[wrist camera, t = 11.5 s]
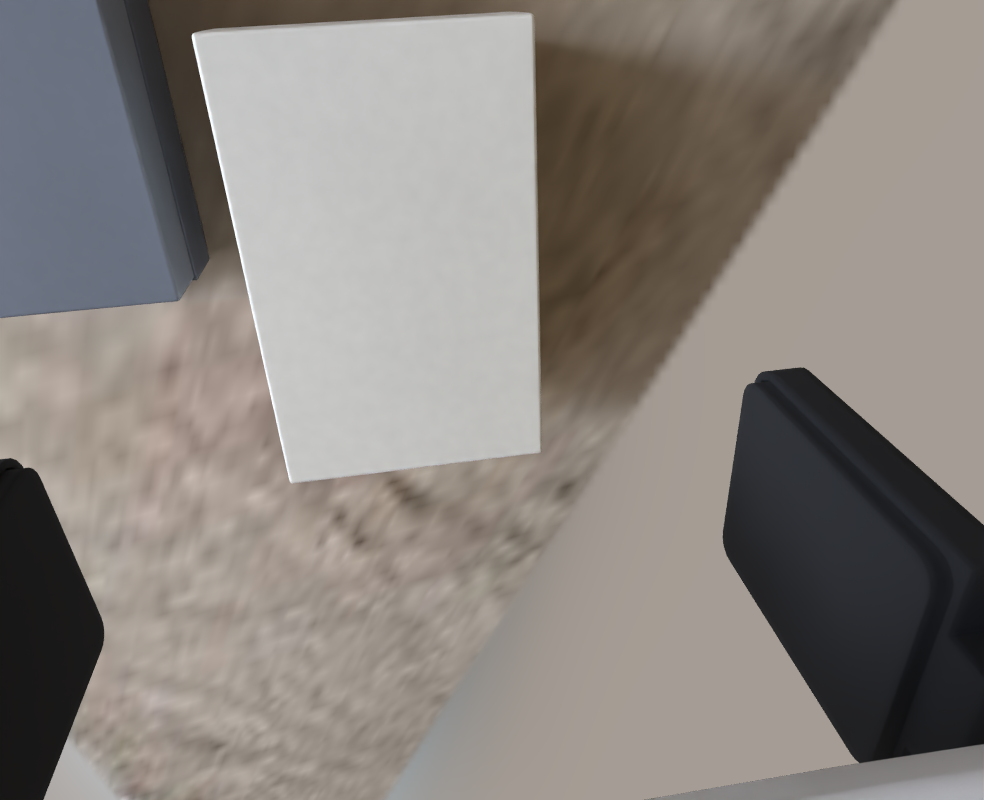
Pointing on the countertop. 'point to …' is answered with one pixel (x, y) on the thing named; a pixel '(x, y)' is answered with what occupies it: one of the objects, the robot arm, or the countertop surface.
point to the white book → (386, 233)
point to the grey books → (90, 162)
